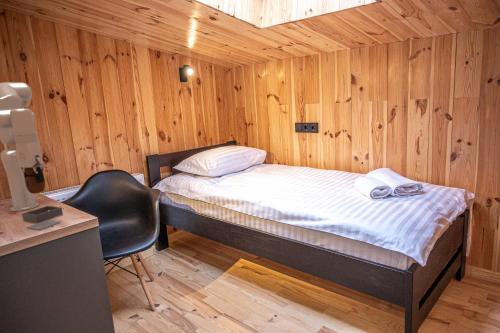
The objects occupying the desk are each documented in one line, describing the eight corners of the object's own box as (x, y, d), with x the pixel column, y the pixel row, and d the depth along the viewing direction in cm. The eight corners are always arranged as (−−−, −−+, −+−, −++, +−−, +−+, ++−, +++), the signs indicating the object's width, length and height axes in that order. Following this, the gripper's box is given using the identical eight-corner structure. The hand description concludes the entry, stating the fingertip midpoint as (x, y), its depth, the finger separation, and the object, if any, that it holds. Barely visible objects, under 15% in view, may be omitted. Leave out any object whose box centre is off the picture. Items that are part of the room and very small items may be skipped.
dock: (23, 220, 147) (21, 212, 146) (48, 212, 157) (47, 204, 157) (37, 223, 142) (35, 214, 142) (62, 214, 153) (61, 206, 152)
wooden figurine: (26, 195, 132) (18, 159, 129) (29, 192, 137) (22, 157, 134) (45, 192, 134) (38, 157, 131) (47, 189, 139) (40, 155, 137)
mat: (26, 228, 136) (26, 227, 136) (48, 221, 144) (47, 219, 144) (39, 230, 132) (39, 229, 132) (60, 222, 140) (60, 221, 140)
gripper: (4, 141, 132) (13, 183, 135) (29, 140, 124) (38, 185, 128) (23, 138, 139) (32, 179, 142) (48, 137, 131) (56, 180, 134)
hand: (35, 181), depth 135 cm, fingers closed on wooden figurine, 6 cm apart
